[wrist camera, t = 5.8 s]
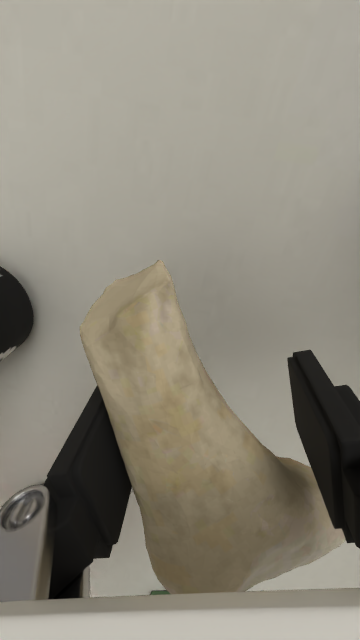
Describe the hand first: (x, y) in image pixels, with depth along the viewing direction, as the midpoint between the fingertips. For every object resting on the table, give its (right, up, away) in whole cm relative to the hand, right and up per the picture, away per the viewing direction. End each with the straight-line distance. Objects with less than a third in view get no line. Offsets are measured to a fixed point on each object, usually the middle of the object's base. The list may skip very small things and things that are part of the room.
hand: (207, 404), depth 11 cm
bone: (0, 0, +1) cm, 1 cm away
